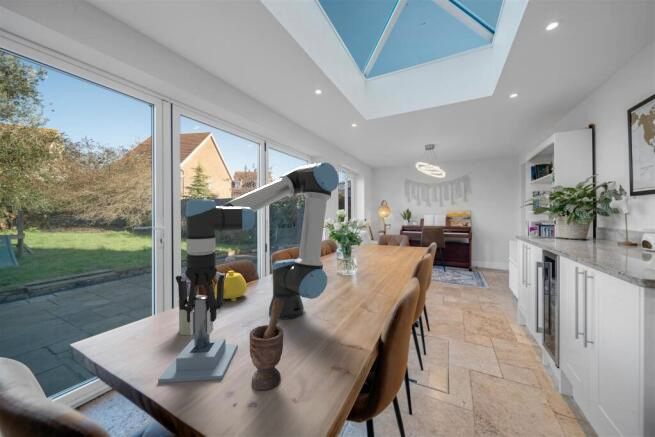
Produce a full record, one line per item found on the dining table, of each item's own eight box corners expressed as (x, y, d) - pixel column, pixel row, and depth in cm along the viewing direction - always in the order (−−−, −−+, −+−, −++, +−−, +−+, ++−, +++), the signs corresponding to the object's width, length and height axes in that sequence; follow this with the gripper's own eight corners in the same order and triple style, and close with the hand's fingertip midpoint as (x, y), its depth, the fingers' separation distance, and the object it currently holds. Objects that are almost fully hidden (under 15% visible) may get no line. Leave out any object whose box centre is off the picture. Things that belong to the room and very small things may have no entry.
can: (194, 336, 89) (194, 303, 89) (172, 333, 91) (172, 301, 91) (211, 324, 98) (211, 294, 98) (191, 322, 100) (190, 292, 100)
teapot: (232, 307, 116) (232, 278, 115) (202, 305, 118) (201, 276, 118) (252, 293, 135) (252, 268, 135) (226, 291, 138) (225, 267, 138)
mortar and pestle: (257, 363, 73) (257, 296, 73) (287, 363, 74) (287, 296, 73) (245, 392, 62) (244, 312, 61) (280, 392, 62) (280, 312, 61)
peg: (211, 341, 76) (211, 295, 75) (206, 348, 72) (206, 300, 71) (197, 341, 75) (197, 295, 75) (191, 349, 71) (191, 300, 71)
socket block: (237, 346, 83) (237, 333, 82) (222, 379, 67) (221, 362, 66) (186, 349, 81) (186, 335, 81) (158, 382, 65) (157, 365, 65)
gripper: (235, 250, 77) (235, 325, 78) (177, 250, 76) (177, 327, 76) (227, 254, 70) (228, 337, 71) (163, 255, 68) (164, 340, 69)
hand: (202, 332), depth 73 cm, fingers closed on peg, 4 cm apart
